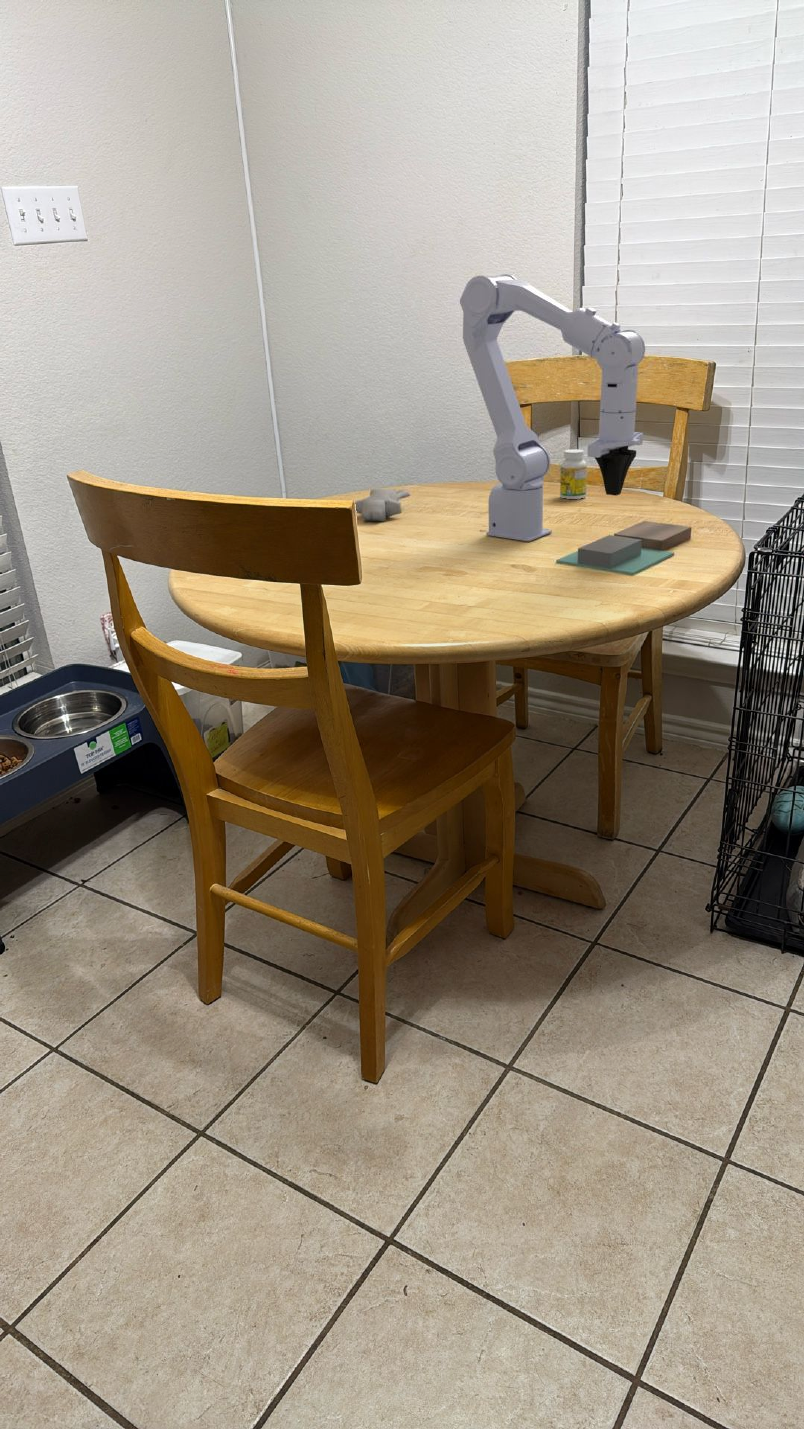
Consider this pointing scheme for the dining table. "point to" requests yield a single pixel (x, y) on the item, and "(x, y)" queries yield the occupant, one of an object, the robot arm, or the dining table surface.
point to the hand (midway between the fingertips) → (613, 494)
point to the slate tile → (609, 551)
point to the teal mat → (628, 567)
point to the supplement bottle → (573, 475)
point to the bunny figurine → (381, 504)
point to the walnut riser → (657, 534)
